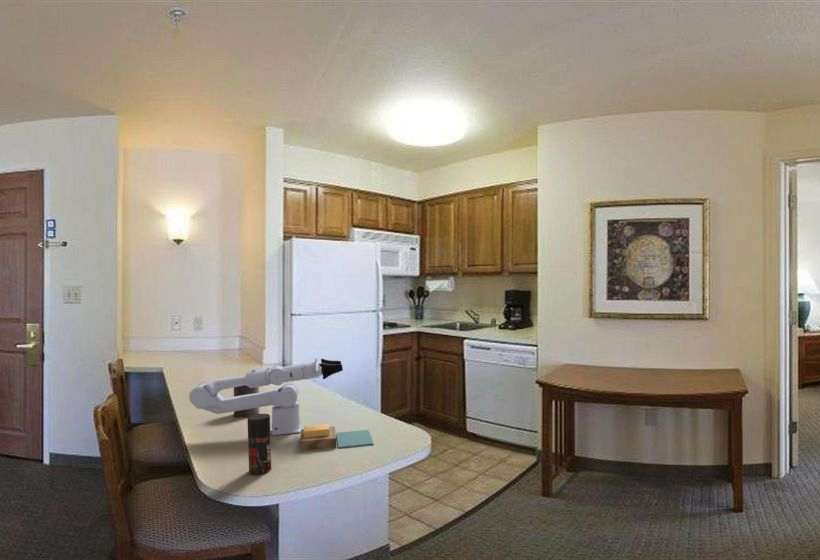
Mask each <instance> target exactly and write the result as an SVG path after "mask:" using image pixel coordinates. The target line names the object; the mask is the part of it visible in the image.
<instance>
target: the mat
mask: <svg viewBox="0 0 820 560" xmlns="http://www.w3.org/2000/svg"><path fill="white" fill-rule="evenodd" d="M335 433H336V444H337V448H339V449H346V448H347V447H348V448H357V446H358V447H365V446H366V447H367V445H368V446H373V445H374V442H373V438H372V436H371V434H370V431H369V429H361V430H351V431H350V430H349V431H343V432H335ZM348 448H347V449H348Z"/></svg>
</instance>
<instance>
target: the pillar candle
mask: <svg viewBox="0 0 820 560" xmlns="http://www.w3.org/2000/svg"><path fill="white" fill-rule="evenodd" d="M254 393H260V387H254V388H250V387H248V386H247V385H244V386H239V387H233V397H235V396H241V395H248V394H254ZM255 414H260V407H258V408H252V409H246V410H240V411H234V412H233V416H234V417H235V416H236V417H235V418H240V417H246V418H248V417H249V416H251V415H255Z"/></svg>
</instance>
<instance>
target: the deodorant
mask: <svg viewBox="0 0 820 560" xmlns="http://www.w3.org/2000/svg"><path fill="white" fill-rule="evenodd" d="M246 418H247V446H248V450H247V452H248V473H250V475H251V474H252V475H251V476H261V474H262V475H265V473H266V474H268V473H269V471H270V470H271V471H272V444H271V443H272V441H271V439H272V437H271V436H272V435H271V416H270V414H268V413H259V414H255V415H251V416H249V417H246ZM271 471H270V472H271ZM267 472H268V473H267Z"/></svg>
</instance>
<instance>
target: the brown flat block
mask: <svg viewBox="0 0 820 560" xmlns="http://www.w3.org/2000/svg"><path fill="white" fill-rule="evenodd" d="M336 433H337V432H336V427H335V426H329V435H328V436H318V437H307V438H304V428H303V429H301V432H300V439H299V441H300V442H299V445H300V446H299V447H300V448H299V449H300V452H307V450H308V451H317V450H327V449H336V448H338V446H337V436H336Z"/></svg>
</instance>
